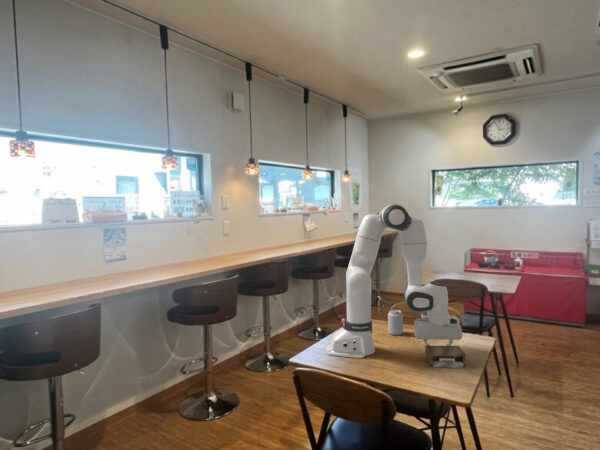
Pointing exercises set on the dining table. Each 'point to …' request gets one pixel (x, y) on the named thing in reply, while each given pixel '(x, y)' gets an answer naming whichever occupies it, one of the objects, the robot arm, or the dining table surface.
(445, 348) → the cabinet
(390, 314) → the can
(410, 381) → the dining table surface
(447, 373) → the dining table surface
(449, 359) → the white and orange box
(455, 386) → the dining table surface
